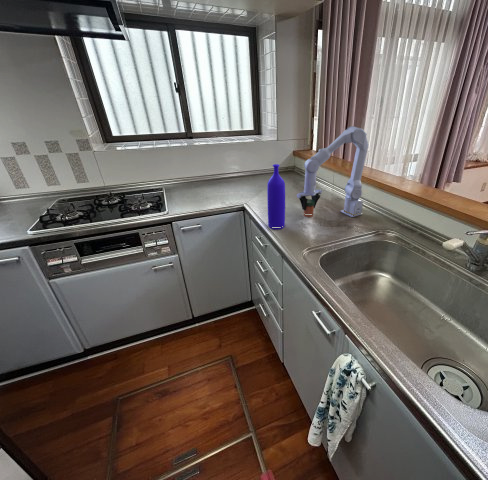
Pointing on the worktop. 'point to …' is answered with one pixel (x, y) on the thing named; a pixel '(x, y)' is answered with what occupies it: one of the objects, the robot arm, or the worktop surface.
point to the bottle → (276, 200)
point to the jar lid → (310, 202)
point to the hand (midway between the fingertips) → (308, 208)
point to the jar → (309, 211)
